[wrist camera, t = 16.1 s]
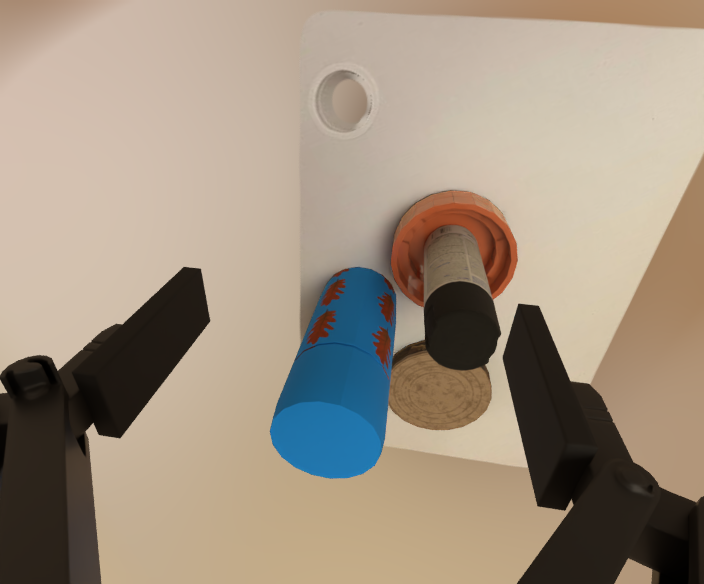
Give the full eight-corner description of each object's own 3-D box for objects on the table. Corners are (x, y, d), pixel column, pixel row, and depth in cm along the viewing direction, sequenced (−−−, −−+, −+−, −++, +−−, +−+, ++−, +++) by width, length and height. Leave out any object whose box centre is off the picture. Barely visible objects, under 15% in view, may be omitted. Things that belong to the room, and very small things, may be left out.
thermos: (372, 253, 55) (340, 384, 34) (411, 312, 59) (405, 463, 38) (308, 286, 59) (244, 422, 38) (349, 340, 63) (311, 489, 42)
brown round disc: (508, 360, 61) (512, 373, 58) (462, 427, 69) (463, 442, 67) (406, 325, 60) (406, 337, 58) (372, 397, 69) (370, 411, 66)
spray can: (417, 263, 54) (414, 363, 37) (432, 216, 51) (437, 302, 34) (466, 275, 54) (486, 381, 37) (485, 229, 51) (517, 322, 34)
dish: (400, 183, 50) (398, 196, 46) (523, 195, 48) (532, 210, 44) (388, 286, 57) (385, 305, 53) (494, 299, 56) (499, 320, 52)
